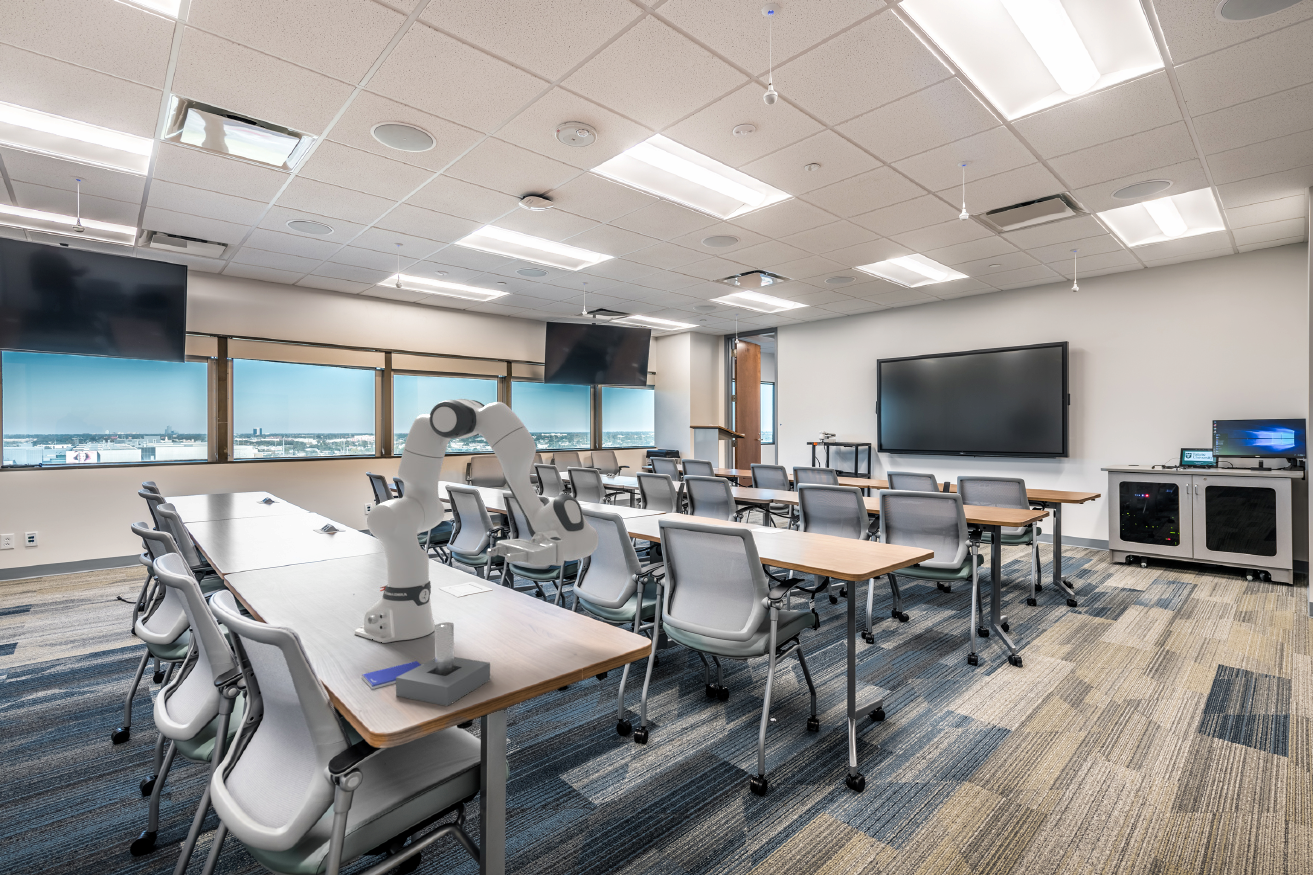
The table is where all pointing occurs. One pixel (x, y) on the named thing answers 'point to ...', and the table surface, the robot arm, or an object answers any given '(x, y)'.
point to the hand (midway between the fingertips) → (497, 555)
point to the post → (444, 648)
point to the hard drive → (387, 675)
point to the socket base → (442, 681)
